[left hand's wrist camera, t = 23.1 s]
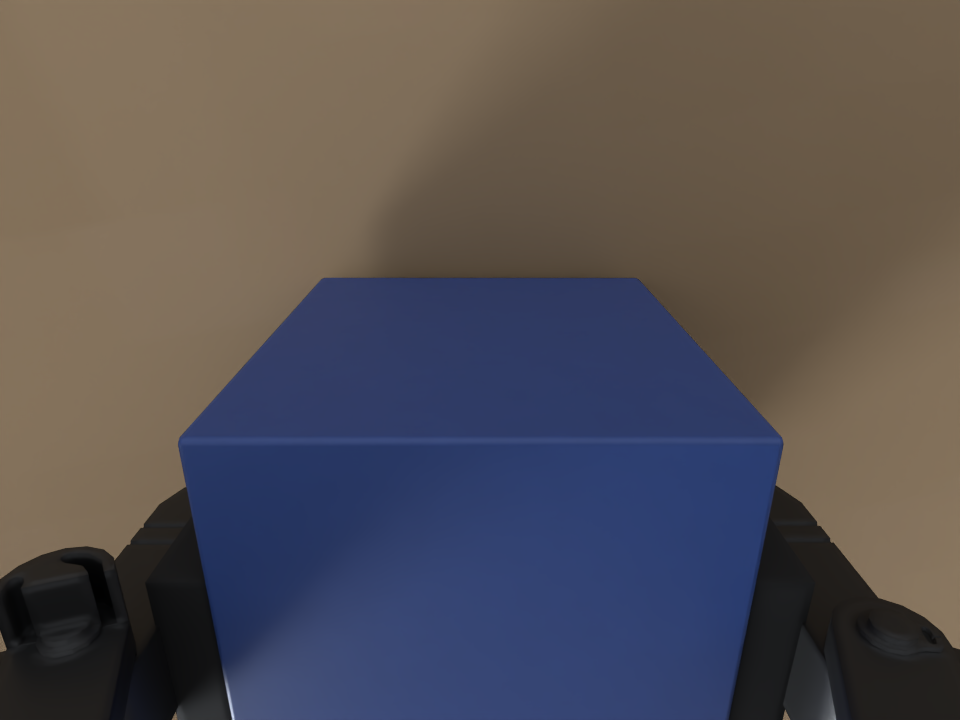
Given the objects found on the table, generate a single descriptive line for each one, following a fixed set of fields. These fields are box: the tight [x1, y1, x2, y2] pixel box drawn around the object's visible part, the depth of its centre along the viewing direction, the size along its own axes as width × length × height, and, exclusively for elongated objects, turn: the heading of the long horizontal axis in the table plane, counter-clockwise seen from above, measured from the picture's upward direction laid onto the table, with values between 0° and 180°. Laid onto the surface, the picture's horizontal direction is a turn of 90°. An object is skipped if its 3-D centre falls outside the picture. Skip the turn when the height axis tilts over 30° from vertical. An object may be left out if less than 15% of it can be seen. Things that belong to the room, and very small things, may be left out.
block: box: [178, 278, 783, 720], centre depth 12 cm, size 7×7×7 cm
